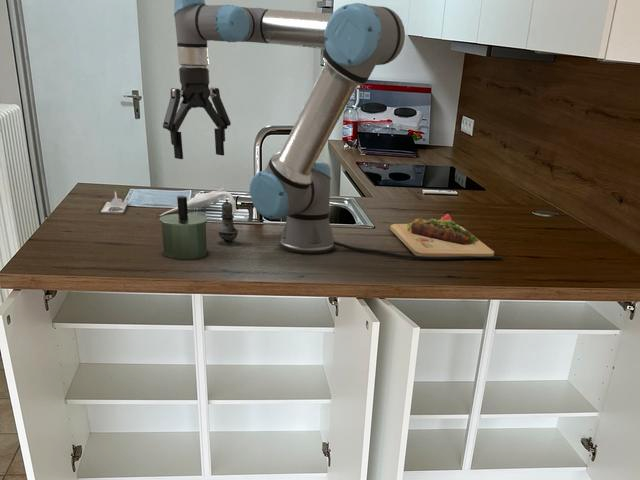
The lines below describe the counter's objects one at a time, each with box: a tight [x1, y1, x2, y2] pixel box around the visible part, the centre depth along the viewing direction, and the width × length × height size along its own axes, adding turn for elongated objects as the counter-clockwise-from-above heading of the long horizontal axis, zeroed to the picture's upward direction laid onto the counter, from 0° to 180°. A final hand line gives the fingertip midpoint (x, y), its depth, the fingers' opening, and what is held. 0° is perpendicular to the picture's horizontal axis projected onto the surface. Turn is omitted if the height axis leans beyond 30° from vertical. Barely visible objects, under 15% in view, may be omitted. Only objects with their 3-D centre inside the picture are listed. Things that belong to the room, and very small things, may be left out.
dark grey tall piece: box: [217, 198, 239, 247], centre depth 208 cm, size 6×6×12 cm
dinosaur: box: [159, 186, 237, 217], centre depth 244 cm, size 25×9×16 cm
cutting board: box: [389, 213, 495, 257], centre depth 222 cm, size 35×23×8 cm
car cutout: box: [100, 190, 129, 215], centre depth 239 cm, size 15×7×4 cm, turn 9°
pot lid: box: [159, 195, 208, 226], centre depth 193 cm, size 12×12×7 cm
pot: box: [161, 222, 208, 260], centre depth 197 cm, size 11×11×8 cm
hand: (200, 156), depth 201 cm, fingers open, 13 cm apart
